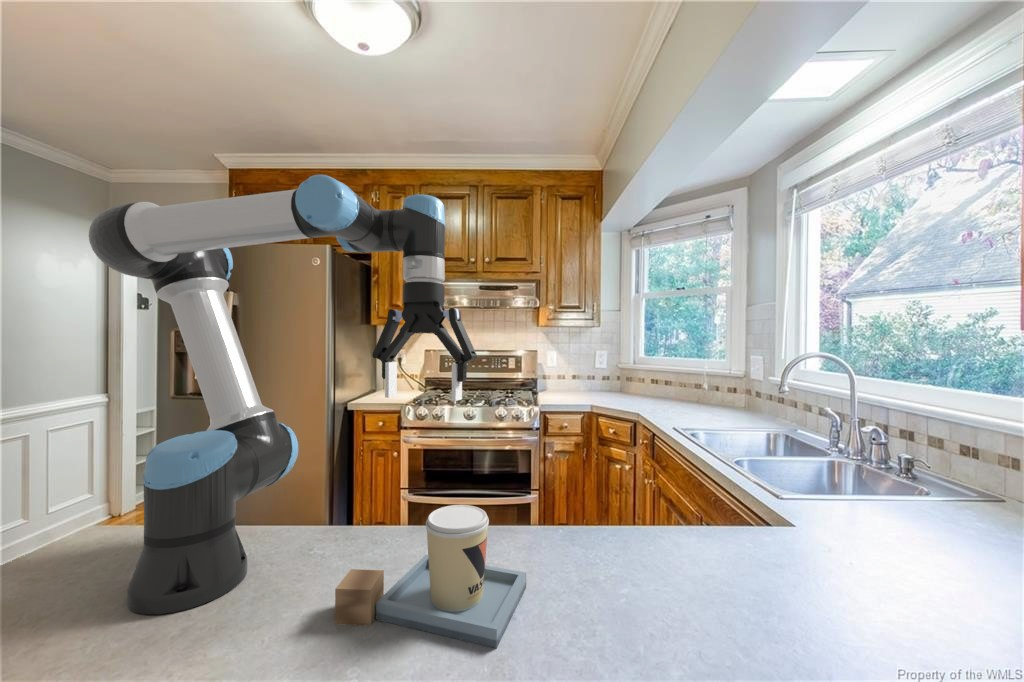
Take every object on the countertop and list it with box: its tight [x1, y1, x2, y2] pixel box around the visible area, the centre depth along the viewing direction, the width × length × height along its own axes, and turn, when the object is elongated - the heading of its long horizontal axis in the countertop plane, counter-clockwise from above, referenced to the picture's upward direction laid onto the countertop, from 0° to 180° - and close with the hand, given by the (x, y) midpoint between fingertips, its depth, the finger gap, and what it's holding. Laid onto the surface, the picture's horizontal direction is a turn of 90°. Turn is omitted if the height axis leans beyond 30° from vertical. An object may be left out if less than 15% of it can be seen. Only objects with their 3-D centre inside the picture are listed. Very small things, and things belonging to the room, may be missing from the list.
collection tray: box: [375, 554, 527, 649], centre depth 63 cm, size 18×14×2 cm
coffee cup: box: [425, 504, 490, 612], centre depth 63 cm, size 9×9×12 cm
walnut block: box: [334, 568, 385, 627], centre depth 61 cm, size 5×5×5 cm
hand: (423, 398), depth 77 cm, fingers open, 13 cm apart
